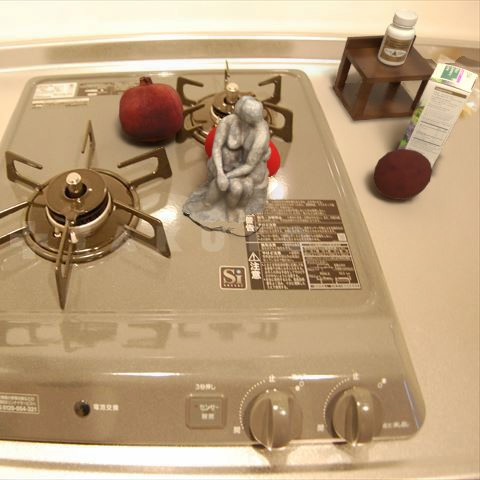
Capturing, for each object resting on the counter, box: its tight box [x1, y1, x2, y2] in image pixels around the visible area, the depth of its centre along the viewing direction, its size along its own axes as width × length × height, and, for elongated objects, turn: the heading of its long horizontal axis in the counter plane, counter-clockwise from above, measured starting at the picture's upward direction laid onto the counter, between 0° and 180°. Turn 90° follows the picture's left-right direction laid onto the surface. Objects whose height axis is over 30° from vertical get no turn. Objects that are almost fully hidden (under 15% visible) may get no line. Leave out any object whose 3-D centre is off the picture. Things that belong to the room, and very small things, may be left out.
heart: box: [204, 125, 282, 178], centre depth 79 cm, size 12×5×10 cm, turn 62°
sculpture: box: [181, 95, 271, 234], centre depth 71 cm, size 11×18×12 cm
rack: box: [332, 34, 435, 121], centre depth 93 cm, size 12×10×10 cm
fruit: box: [118, 76, 185, 143], centre depth 85 cm, size 11×10×10 cm
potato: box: [372, 148, 433, 200], centre depth 78 cm, size 7×8×7 cm
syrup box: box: [396, 62, 479, 169], centre depth 81 cm, size 6×6×14 cm
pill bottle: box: [378, 9, 419, 66], centre depth 88 cm, size 4×4×8 cm
